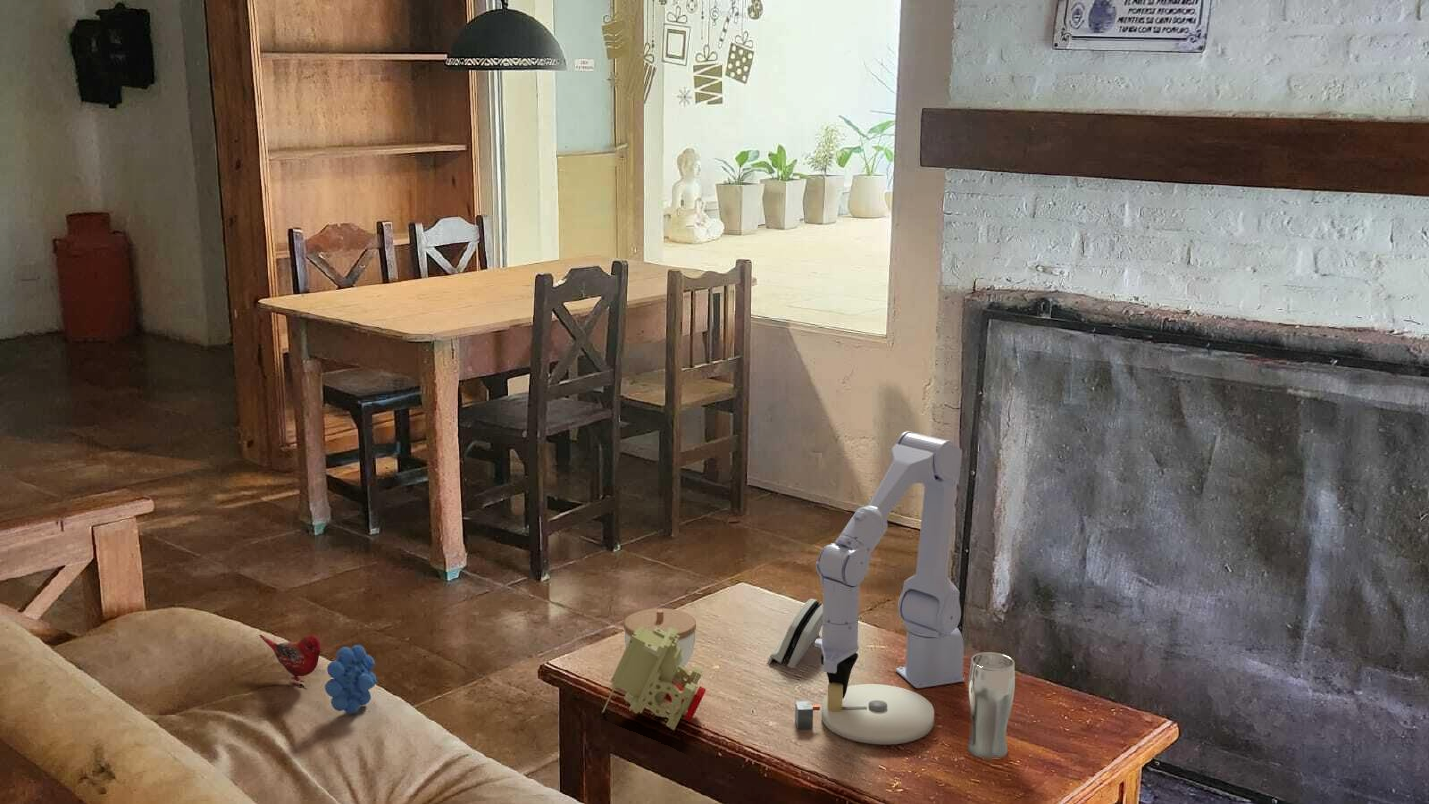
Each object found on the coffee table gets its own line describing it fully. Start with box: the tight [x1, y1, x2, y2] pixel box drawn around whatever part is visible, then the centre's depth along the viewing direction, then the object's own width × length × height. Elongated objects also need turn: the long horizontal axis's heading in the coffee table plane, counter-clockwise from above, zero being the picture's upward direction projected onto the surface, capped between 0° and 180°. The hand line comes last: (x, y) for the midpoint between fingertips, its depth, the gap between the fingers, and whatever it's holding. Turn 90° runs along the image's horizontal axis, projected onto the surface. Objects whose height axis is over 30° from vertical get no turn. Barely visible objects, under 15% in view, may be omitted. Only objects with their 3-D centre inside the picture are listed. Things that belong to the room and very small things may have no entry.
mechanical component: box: [601, 627, 707, 731], centre depth 216 cm, size 8×17×20 cm, turn 79°
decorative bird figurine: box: [259, 634, 323, 682], centre depth 229 cm, size 3×18×10 cm, turn 53°
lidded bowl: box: [623, 607, 697, 670], centre depth 234 cm, size 13×13×11 cm
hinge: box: [766, 598, 823, 669], centre depth 244 cm, size 17×5×10 cm, turn 160°
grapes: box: [324, 644, 378, 715], centre depth 216 cm, size 12×7×12 cm, turn 157°
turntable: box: [821, 683, 935, 745], centre depth 215 cm, size 18×18×6 cm
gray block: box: [794, 700, 821, 731], centre depth 215 cm, size 4×3×4 cm
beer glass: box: [967, 651, 1016, 760], centre depth 205 cm, size 7×7×15 cm
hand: (838, 696), depth 217 cm, fingers closed
